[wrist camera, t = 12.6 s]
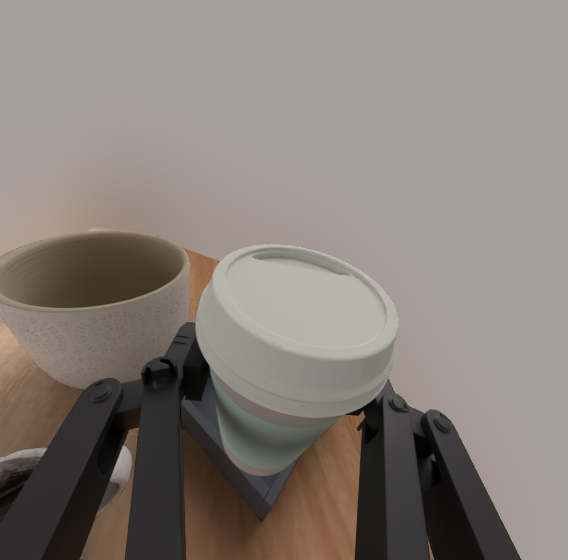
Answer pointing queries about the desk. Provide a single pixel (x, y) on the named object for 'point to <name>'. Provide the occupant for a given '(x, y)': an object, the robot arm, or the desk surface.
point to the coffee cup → (291, 349)
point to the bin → (207, 434)
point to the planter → (95, 302)
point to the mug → (19, 465)
